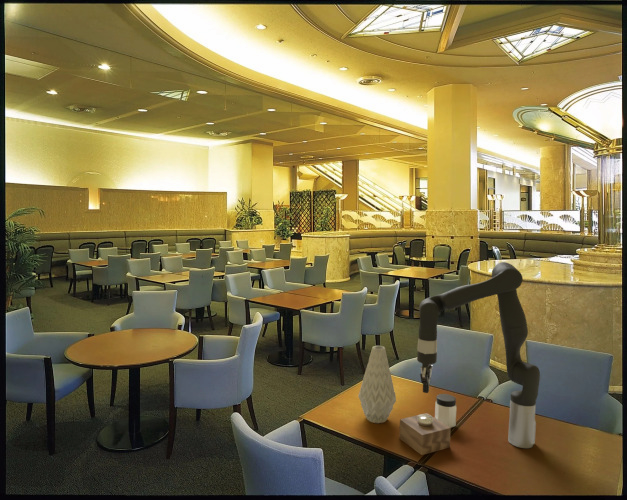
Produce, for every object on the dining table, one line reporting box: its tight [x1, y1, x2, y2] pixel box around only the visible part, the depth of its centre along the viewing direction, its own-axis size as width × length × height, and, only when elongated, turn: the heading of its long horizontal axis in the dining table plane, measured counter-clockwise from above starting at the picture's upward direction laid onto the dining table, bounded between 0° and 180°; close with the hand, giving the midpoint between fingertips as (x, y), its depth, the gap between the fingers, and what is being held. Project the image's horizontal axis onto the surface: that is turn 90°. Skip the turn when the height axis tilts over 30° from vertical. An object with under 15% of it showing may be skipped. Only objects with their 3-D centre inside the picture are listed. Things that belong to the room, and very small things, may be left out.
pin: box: [417, 413, 434, 427], centre depth 178 cm, size 6×6×10 cm
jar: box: [434, 393, 457, 429], centre depth 194 cm, size 9×8×12 cm
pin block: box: [399, 412, 452, 456], centre depth 178 cm, size 14×14×8 cm
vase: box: [358, 345, 397, 424], centre depth 197 cm, size 17×17×33 cm
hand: (425, 392), depth 176 cm, fingers closed
